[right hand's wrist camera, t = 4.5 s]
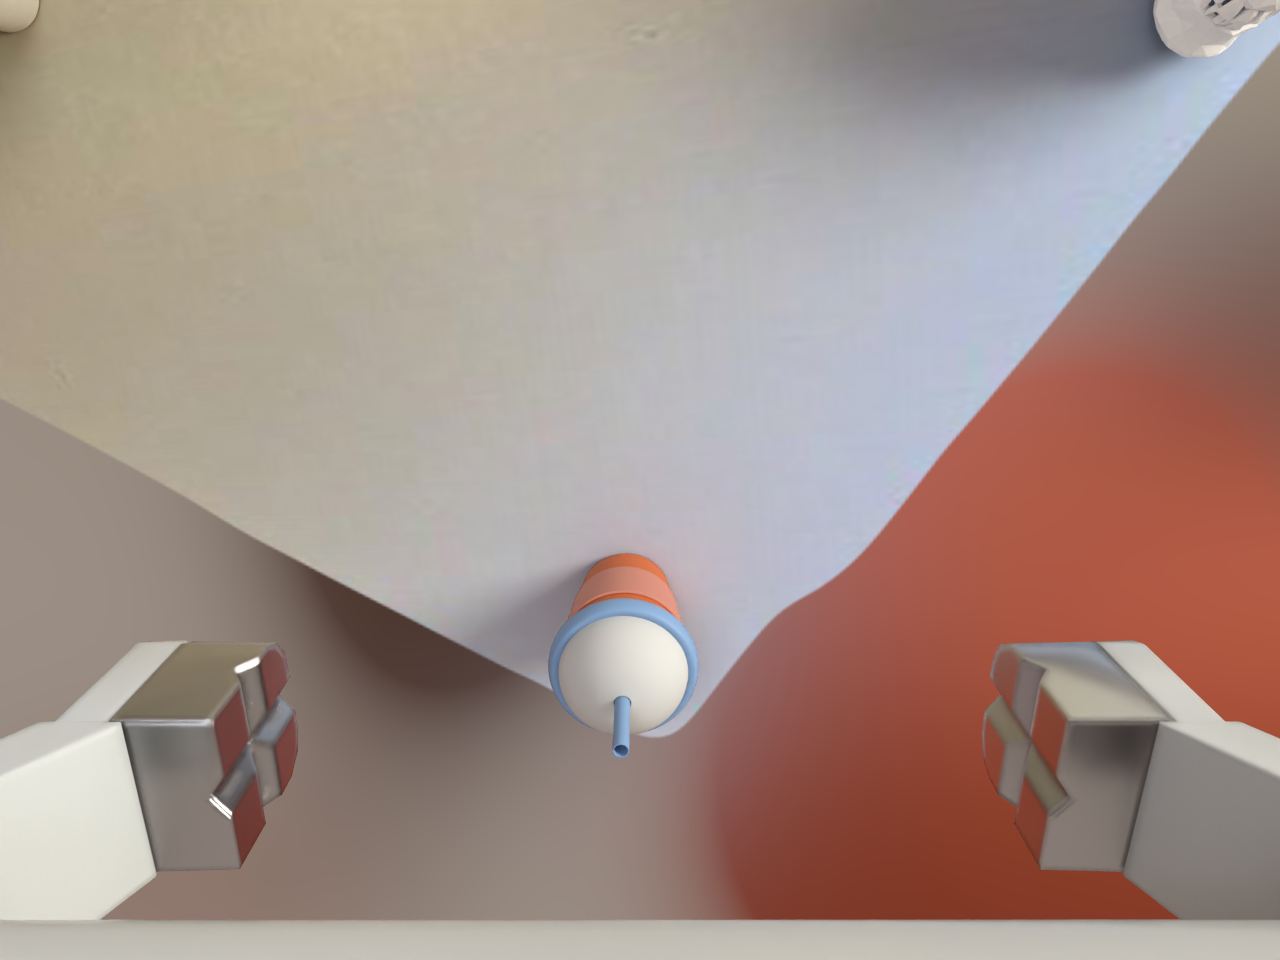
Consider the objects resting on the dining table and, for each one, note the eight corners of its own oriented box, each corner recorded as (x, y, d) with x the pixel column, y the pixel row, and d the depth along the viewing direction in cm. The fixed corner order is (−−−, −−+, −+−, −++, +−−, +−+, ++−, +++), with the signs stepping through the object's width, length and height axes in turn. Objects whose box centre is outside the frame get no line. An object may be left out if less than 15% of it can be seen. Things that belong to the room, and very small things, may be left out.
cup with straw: (551, 634, 64) (519, 804, 47) (575, 521, 61) (550, 660, 44) (673, 657, 65) (685, 834, 48) (703, 547, 62) (727, 694, 45)
